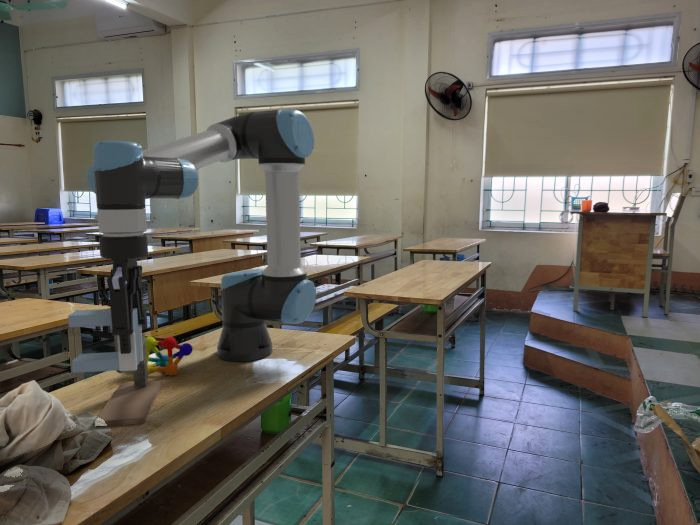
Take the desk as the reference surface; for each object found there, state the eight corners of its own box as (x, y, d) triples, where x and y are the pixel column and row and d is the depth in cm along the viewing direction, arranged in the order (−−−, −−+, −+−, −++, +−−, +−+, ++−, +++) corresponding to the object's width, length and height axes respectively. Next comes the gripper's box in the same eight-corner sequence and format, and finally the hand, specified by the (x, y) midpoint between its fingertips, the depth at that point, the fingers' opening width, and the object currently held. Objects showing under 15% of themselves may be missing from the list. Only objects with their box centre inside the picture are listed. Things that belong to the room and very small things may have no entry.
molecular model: (163, 376, 131) (201, 346, 127) (145, 398, 122) (186, 368, 118) (132, 346, 129) (170, 315, 124) (112, 367, 119) (152, 334, 115)
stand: (162, 385, 115) (158, 331, 113) (143, 423, 96) (139, 359, 94) (121, 388, 113) (117, 333, 111) (94, 427, 95) (89, 362, 93)
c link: (140, 361, 89) (137, 308, 88) (134, 369, 86) (131, 313, 84) (80, 364, 88) (76, 310, 86) (72, 372, 84) (68, 315, 82)
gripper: (114, 230, 92) (122, 351, 95) (82, 239, 75) (93, 385, 78) (156, 230, 93) (163, 349, 96) (134, 238, 76) (143, 382, 80)
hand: (131, 365), depth 87 cm, fingers closed on c link, 4 cm apart
